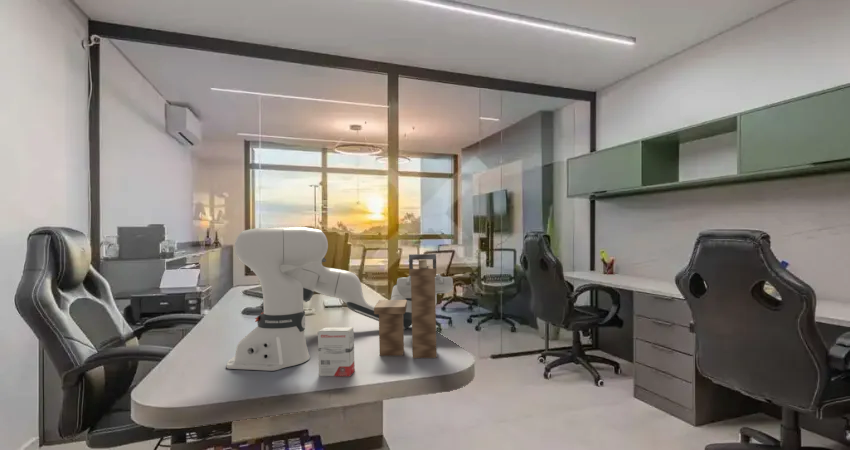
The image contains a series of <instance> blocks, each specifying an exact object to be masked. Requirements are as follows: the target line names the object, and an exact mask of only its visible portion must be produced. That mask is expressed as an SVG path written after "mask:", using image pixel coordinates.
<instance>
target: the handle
mask: <svg viewBox="0 0 850 450" xmlns="http://www.w3.org/2000/svg"><path fill="white" fill-rule="evenodd" d="M427 263H428V259H426V260H418V266H419V269H420V268H427V266H428V264H427Z"/></svg>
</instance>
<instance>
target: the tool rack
mask: <svg viewBox="0 0 850 450" xmlns="http://www.w3.org/2000/svg"><path fill="white" fill-rule="evenodd" d="M426 259H427V260H432V265H430V266H429V265H427V268H420V269H419V265H418V266H414V260H415V261H417V260H418V261H419V260H426ZM408 268H409V269H408V277H409V276H411V301H412V325H411V336H412V337H411V343H412V345H411V348H412V353H411V354H412V359H435V358H437V325H436V324H437V317H436V315H437V313H436V309H437V308H436V306H435V277H436V275H437V274H438V272H437V254H436V253H415V254H414V253H411V254H410V253H409V254H408ZM374 306H375V307H374V314H379V321H378V333H379V334H378V337H379V338H378V339H379V341H378V345H379V350H378V351H379V356H380V357H384V356H390V357H391V356H404V353H405V339H404V338H405V336H404V335H405V333H404V332H405V329H404V323H403V314H405V311H406V308H407V300H391V299H379V300H378V301H377V302H376V304H375V305H374Z"/></svg>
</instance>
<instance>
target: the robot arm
mask: <svg viewBox="0 0 850 450" xmlns="http://www.w3.org/2000/svg"><path fill="white" fill-rule="evenodd" d="M328 243H329V242H328V238H327V236H326V234H325V233H324V232H323V231H322V230H321V229H318V228H312V227H306V226H297V227H294V226H293V227H292V226H291V227H289V226H288V227H287V226H285V227H284V226H283V227H255V228H251V229H245V230H243V231H241V232H240V233H239V234H238V236H237V237H236V240H235V241H234V252H235V255H236V257H237V258H238V260H239V261H240V262H241V263H242V264H243V265H245V266H246V267H248V268H249V269H250V270H251V271H253V273H254V274H255V276H256V277H257V279H258V281H259V283H260V286H261V290H262V292H261V293H262V299H263V303H262V304H263V312H261V313H260V314H259V315H257V316H256V317H255V318H254V319H255V321H254V323H257V326H256V327H255V328H253V330H251V331H250V332H249V333H248V334H246V335H245V336H244V337H243V338H242V339H240V341H238V344H237V346H236V350H235V356H233V357H232V358H230V359H229V360H227V361H226V368H227V369H229V370H230V369H233V370H253V371H272V372H273V371H279V370H281V369H284V368H288V367H293V366H297V365H301V364H303V363H305V362H307V361H309V360H310V358H311V357H310V354H309V350H308V345H307V341H306V333H305V331H306V325H307V324H306V321H307V320H306V312H305V309H304V303H307V302H310V301H311V299H312V298H313V296H314V292H315V293H318V294H321V295H322V296H323V295H324V296H327V297H330V298H336V299H339V300H341V301H342V302H344V303H345V304H346V307H347V308H348V309H349V310H350V311H352V312H354V313H357V314H359V315H362V316H364V317H367V318H368V319H369V318H370V319H372V320H375V321H378V322H379V314H374V307H375V305H372V304H369V303H368V302H367V301H366V300H365V297H364V294H363V289H362V288H363V287H362V283H361V280H360V278H359V277H358V276H357V274H355V273H354V272H352V271H348V270H345V269H341V268H334V267H326V266H324V265H323V263H326V262H327V258H325V256H326V255H327V252H328V248H329V244H328ZM453 290H454V279H453V277H451V276H442V275H441V274H440V273H437V275H435V307H436V306H437V301H438V300H437V295H438V294H448V293H450V292H451V291H453ZM390 295H391V296H390V300H407V308H406V311H405V314H403V323H404V330H407V329H409V328H410V327H412V301H411V276H409V275H408V276H407V277H398V278H397V281H396V284H395V285H393V286H392V291H391V294H390Z"/></svg>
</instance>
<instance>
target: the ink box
mask: <svg viewBox="0 0 850 450" xmlns="http://www.w3.org/2000/svg"><path fill="white" fill-rule="evenodd" d="M354 334H355V333H354V326H353V327H349V326H348V327H323V328H321V329H320V330H318V331H317V351H318V352H317V355H318V357H317V358H318V376H319V377H351V376H352V375H353V373H354V372H355V371H356V369H355V342H354V341H355V338H354V336H355V335H354Z"/></svg>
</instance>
